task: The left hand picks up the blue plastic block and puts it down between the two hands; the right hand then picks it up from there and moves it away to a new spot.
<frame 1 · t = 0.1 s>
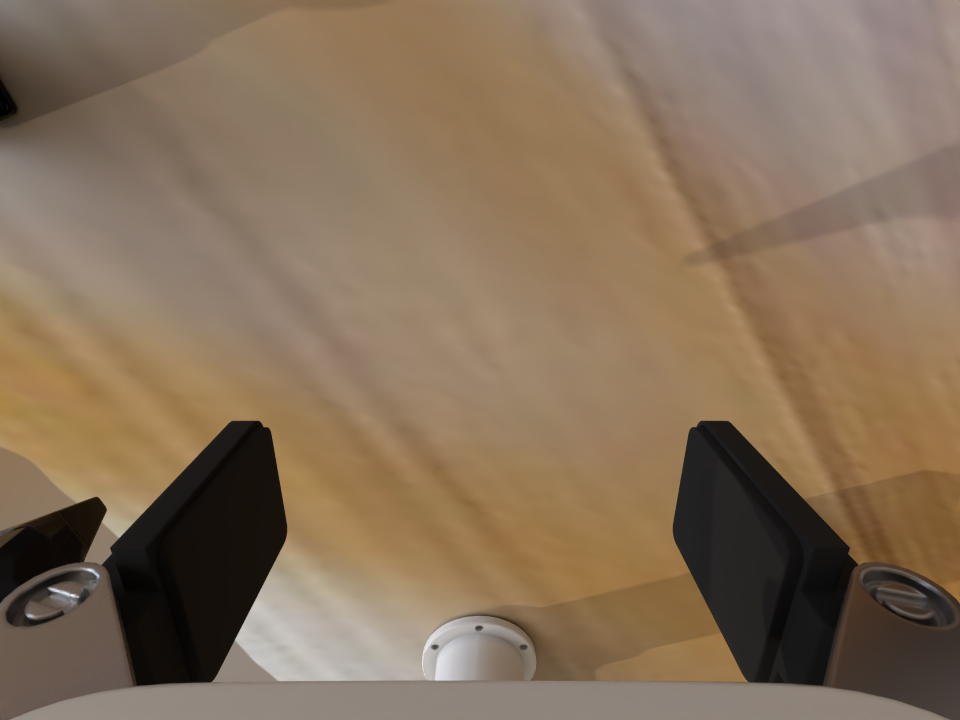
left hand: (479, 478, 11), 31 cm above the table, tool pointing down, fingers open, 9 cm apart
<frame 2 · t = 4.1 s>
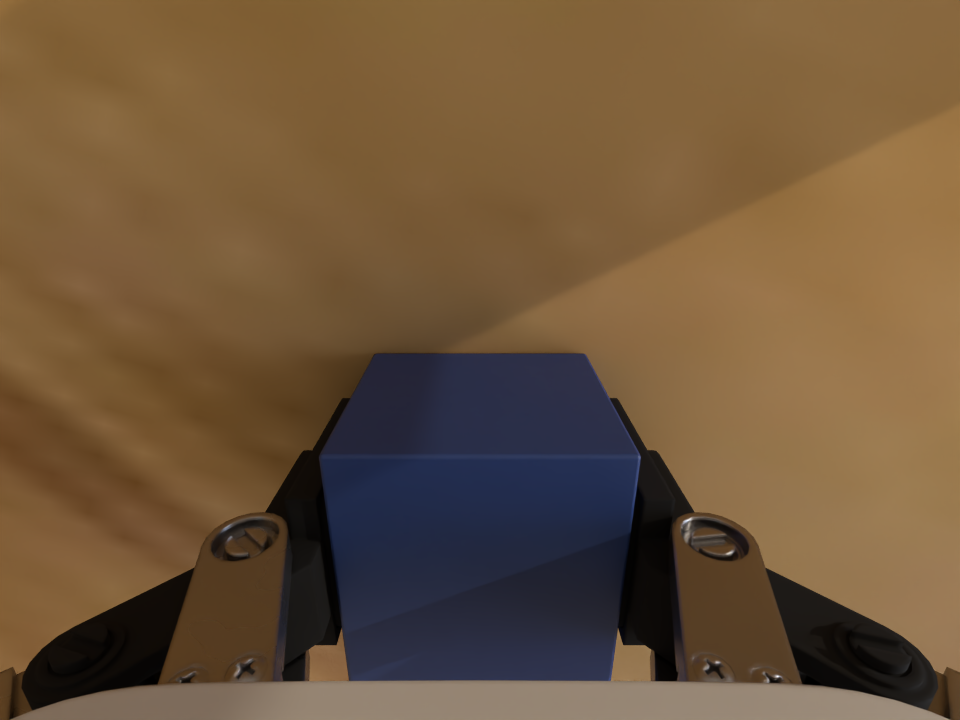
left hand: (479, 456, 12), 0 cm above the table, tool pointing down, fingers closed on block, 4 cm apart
block: (479, 446, 13), on the table, touching left hand
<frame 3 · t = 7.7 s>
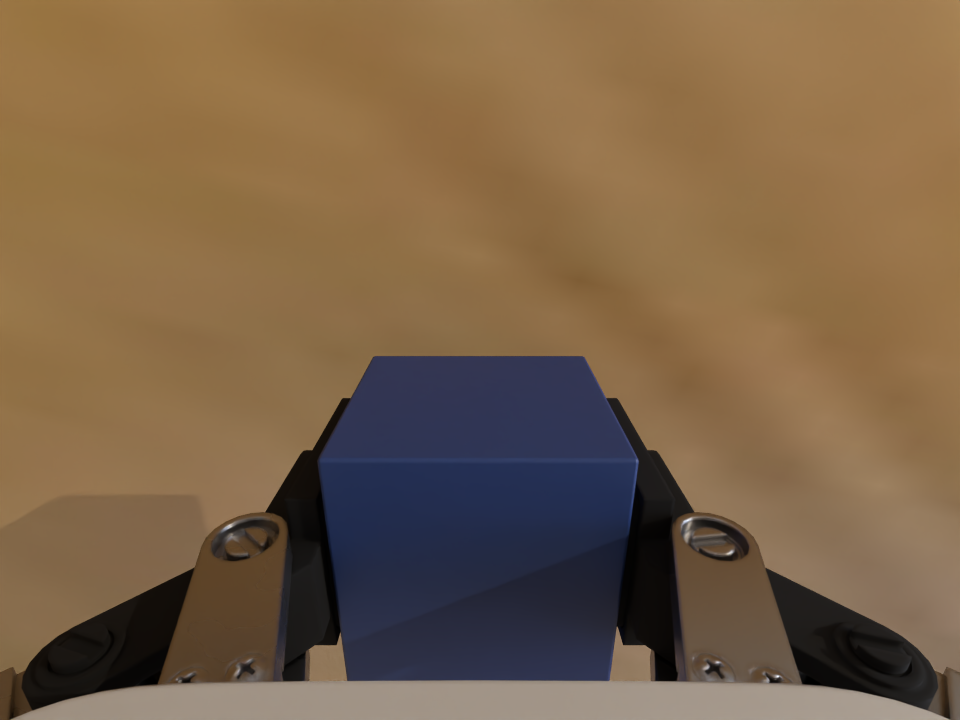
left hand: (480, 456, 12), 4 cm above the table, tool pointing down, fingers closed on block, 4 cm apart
block: (478, 449, 13), point 4 cm above the table, touching left hand
when the left hand's fingers open (1 cm above the table, at t = 11.7 s): block stays where it is, on the table.
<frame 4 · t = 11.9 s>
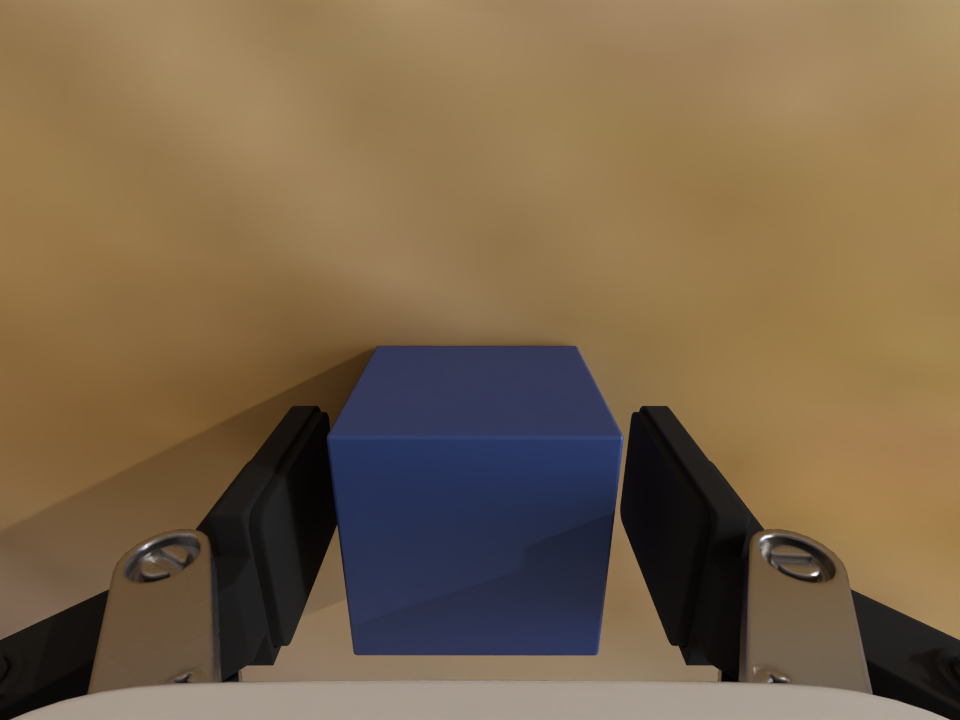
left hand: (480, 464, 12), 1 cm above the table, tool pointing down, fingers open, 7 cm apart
block: (477, 435, 13), on the table
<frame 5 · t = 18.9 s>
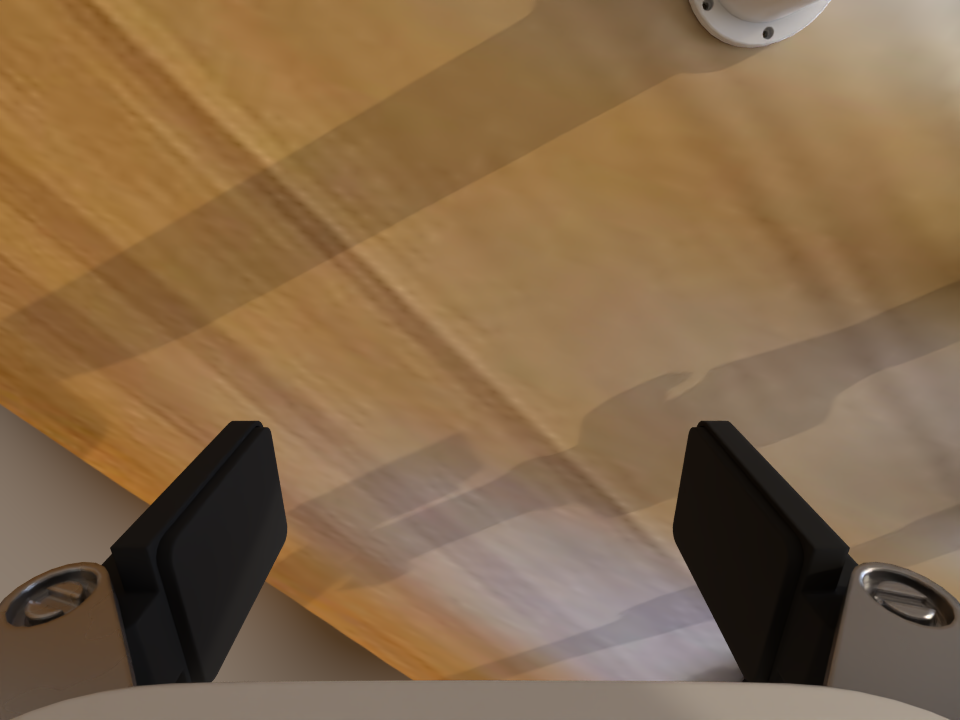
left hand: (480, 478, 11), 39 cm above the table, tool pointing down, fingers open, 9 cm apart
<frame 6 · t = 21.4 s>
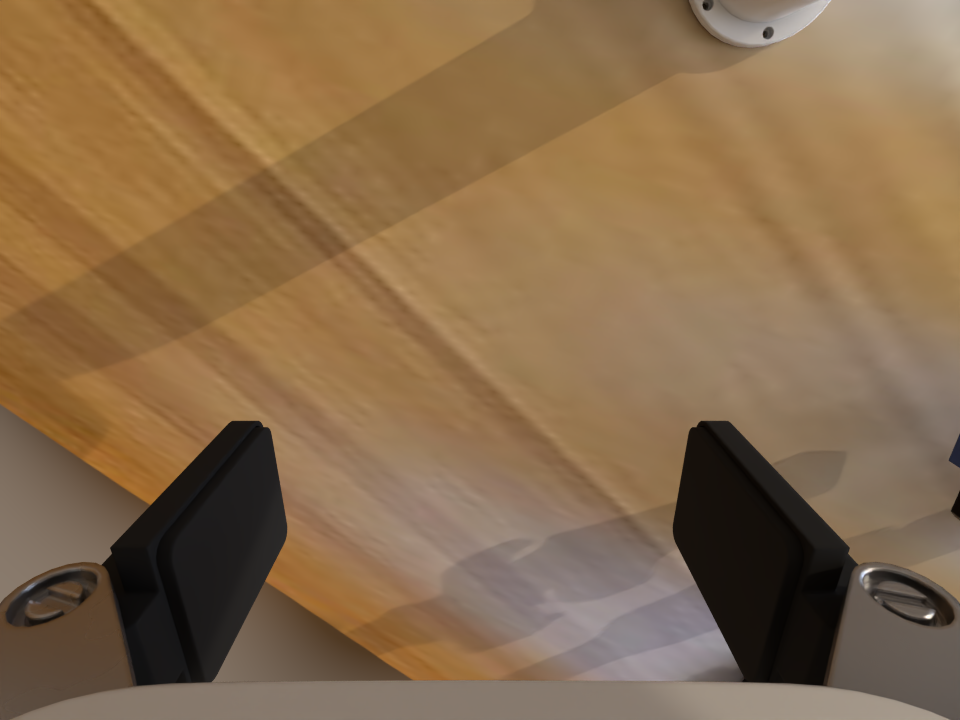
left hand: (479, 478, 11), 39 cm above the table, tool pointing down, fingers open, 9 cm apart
when the right hand's fingers open (2 cm above the table, at t = 24.3 s): block stays where it is, on the table.
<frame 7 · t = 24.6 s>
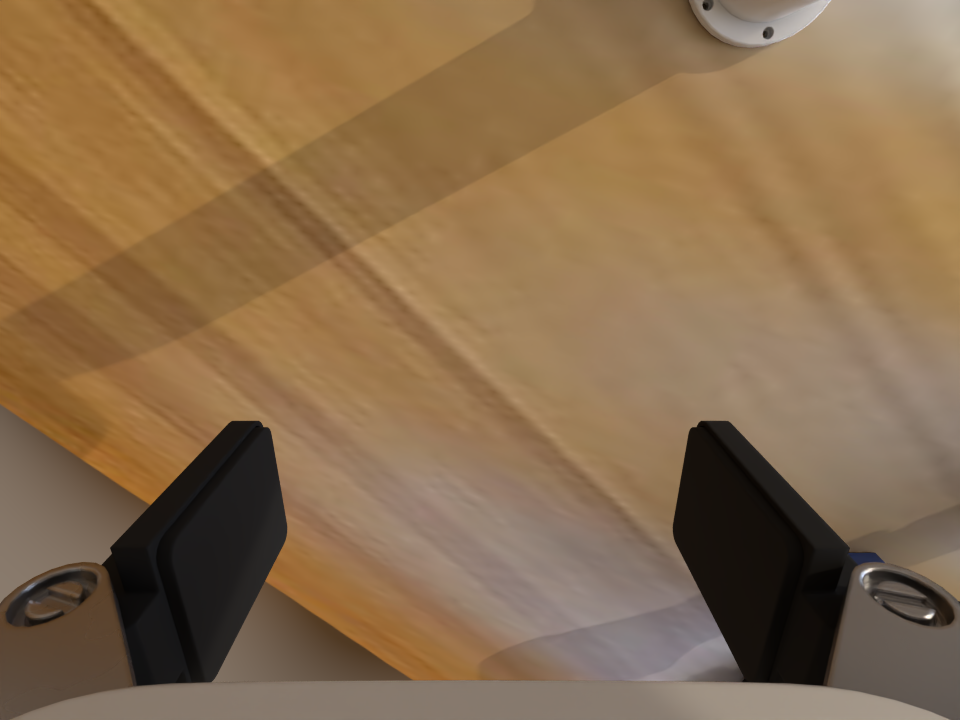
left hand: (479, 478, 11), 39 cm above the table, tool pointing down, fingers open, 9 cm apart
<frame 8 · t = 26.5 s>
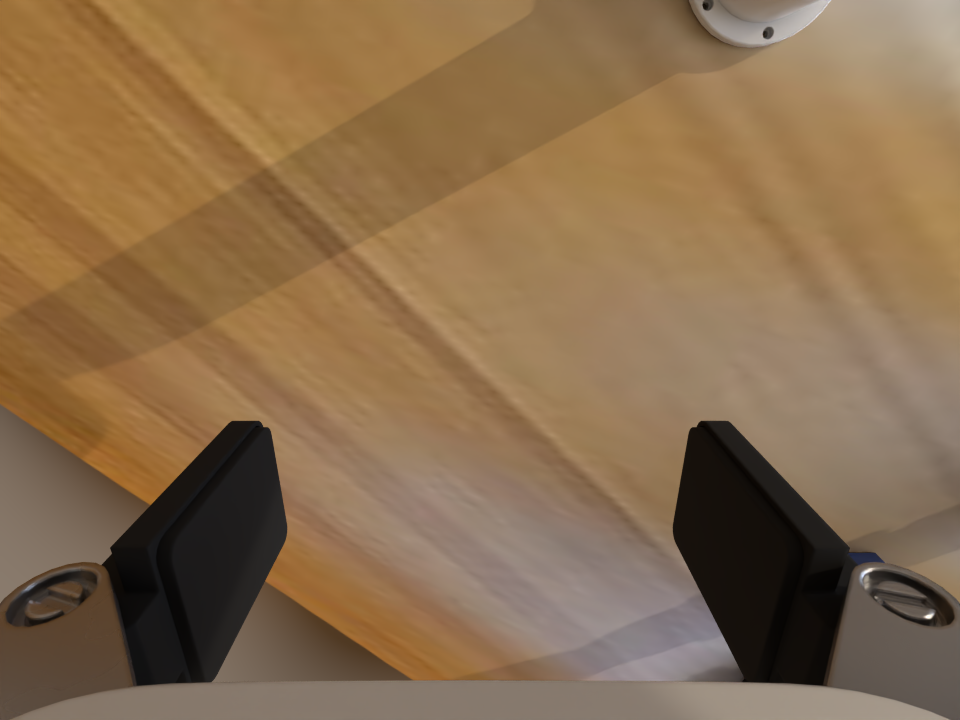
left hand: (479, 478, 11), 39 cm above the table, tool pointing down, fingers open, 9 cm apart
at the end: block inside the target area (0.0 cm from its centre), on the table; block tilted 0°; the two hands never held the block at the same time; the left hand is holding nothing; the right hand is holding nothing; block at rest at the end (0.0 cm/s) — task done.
